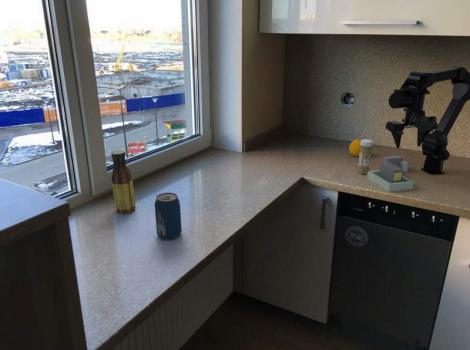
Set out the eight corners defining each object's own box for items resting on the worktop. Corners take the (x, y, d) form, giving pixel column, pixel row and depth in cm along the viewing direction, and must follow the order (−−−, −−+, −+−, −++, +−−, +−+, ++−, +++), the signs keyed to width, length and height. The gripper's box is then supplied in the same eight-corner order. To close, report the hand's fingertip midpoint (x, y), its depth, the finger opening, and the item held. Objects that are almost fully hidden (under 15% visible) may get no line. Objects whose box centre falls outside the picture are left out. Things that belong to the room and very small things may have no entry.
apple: (345, 154, 184) (346, 138, 181) (358, 152, 187) (360, 136, 185) (356, 159, 177) (358, 142, 175) (370, 156, 180) (372, 140, 178)
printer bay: (397, 166, 167) (399, 155, 166) (407, 172, 161) (409, 160, 160) (381, 168, 166) (383, 157, 164) (391, 173, 160) (393, 161, 158)
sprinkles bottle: (367, 175, 158) (371, 142, 153) (355, 173, 160) (359, 141, 155) (370, 171, 162) (374, 139, 157) (358, 170, 164) (362, 138, 159)
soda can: (182, 229, 116) (180, 191, 112) (180, 241, 110) (178, 201, 106) (158, 229, 116) (156, 191, 112) (155, 241, 110) (152, 202, 105)
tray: (389, 175, 157) (390, 169, 156) (412, 189, 145) (413, 182, 144) (366, 178, 155) (367, 171, 154) (388, 191, 142) (389, 184, 141)
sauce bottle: (128, 204, 132) (122, 147, 125) (139, 209, 129) (134, 150, 122) (111, 211, 128) (104, 151, 121) (123, 216, 124) (116, 155, 117)
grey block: (388, 177, 154) (390, 162, 151) (401, 185, 146) (403, 169, 144) (378, 178, 153) (380, 163, 151) (391, 186, 145) (393, 170, 143)
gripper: (406, 112, 138) (400, 155, 143) (452, 109, 142) (444, 151, 147) (387, 106, 148) (382, 146, 153) (430, 104, 152) (423, 143, 157)
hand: (408, 147), depth 152 cm, fingers open, 9 cm apart
